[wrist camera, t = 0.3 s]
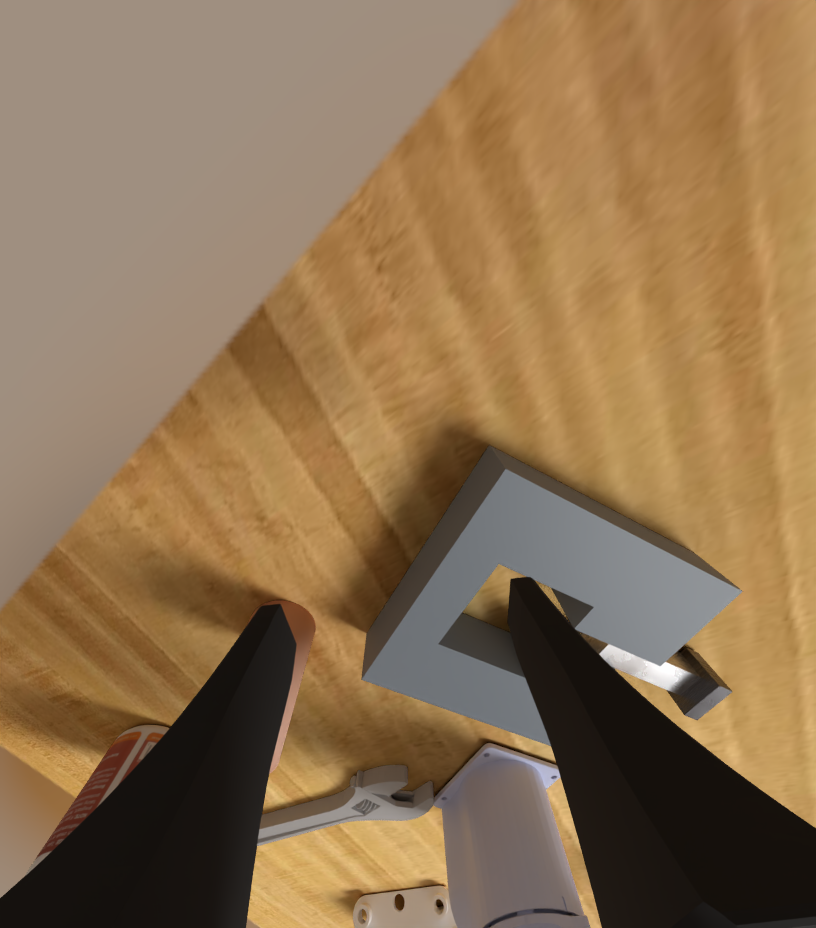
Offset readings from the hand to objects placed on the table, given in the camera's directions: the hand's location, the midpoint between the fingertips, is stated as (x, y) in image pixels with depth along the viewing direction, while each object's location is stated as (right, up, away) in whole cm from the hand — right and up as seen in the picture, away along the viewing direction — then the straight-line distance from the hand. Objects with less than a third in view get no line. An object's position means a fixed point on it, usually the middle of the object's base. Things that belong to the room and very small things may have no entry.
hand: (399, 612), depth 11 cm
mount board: (+8, -4, +13) cm, 16 cm away
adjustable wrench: (-10, -27, +23) cm, 37 cm away
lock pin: (+17, -9, +15) cm, 24 cm away
